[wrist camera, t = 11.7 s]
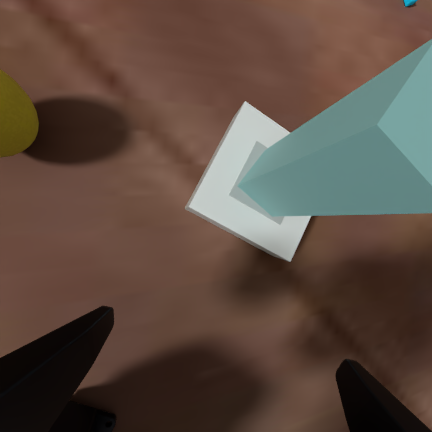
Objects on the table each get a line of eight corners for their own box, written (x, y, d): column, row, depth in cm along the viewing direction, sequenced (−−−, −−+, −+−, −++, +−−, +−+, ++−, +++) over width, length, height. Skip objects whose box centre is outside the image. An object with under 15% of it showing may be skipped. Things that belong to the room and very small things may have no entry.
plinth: (273, 256, 22) (291, 262, 19) (184, 208, 20) (188, 206, 17) (313, 170, 23) (335, 163, 20) (233, 117, 21) (245, 100, 18)
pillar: (272, 216, 19) (455, 212, 7) (237, 185, 18) (376, 124, 6) (297, 180, 19) (505, 123, 8) (265, 149, 19) (438, 34, 7)
